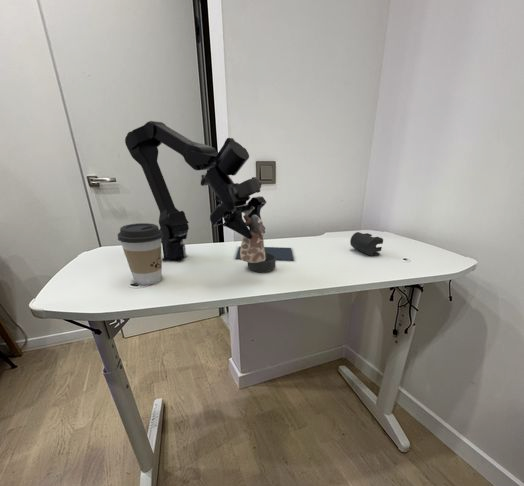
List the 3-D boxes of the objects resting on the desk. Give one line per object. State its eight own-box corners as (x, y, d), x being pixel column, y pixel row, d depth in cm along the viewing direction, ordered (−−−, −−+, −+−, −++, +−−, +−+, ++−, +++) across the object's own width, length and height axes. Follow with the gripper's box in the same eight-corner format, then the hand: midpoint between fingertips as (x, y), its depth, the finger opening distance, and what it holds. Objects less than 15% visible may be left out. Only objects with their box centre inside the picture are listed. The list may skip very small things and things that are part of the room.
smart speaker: (279, 271, 91) (280, 259, 89) (252, 274, 88) (252, 262, 86) (269, 262, 98) (269, 251, 96) (244, 264, 96) (244, 253, 94)
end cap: (348, 249, 114) (351, 232, 110) (362, 247, 116) (365, 231, 113) (366, 257, 105) (369, 239, 102) (381, 255, 108) (385, 237, 105)
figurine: (263, 264, 78) (264, 218, 72) (237, 261, 79) (236, 216, 73) (267, 255, 84) (269, 212, 78) (243, 253, 85) (243, 211, 79)
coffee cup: (157, 290, 77) (148, 234, 70) (118, 286, 79) (105, 230, 72) (175, 274, 87) (169, 223, 80) (140, 271, 88) (131, 221, 82)
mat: (235, 259, 100) (235, 258, 100) (239, 247, 113) (239, 246, 113) (293, 260, 100) (293, 259, 100) (290, 248, 113) (290, 247, 112)
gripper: (216, 166, 65) (256, 223, 65) (261, 165, 79) (294, 211, 79) (194, 199, 72) (229, 250, 73) (238, 192, 87) (268, 235, 87)
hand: (257, 236), depth 78 cm, fingers closed on figurine, 6 cm apart
